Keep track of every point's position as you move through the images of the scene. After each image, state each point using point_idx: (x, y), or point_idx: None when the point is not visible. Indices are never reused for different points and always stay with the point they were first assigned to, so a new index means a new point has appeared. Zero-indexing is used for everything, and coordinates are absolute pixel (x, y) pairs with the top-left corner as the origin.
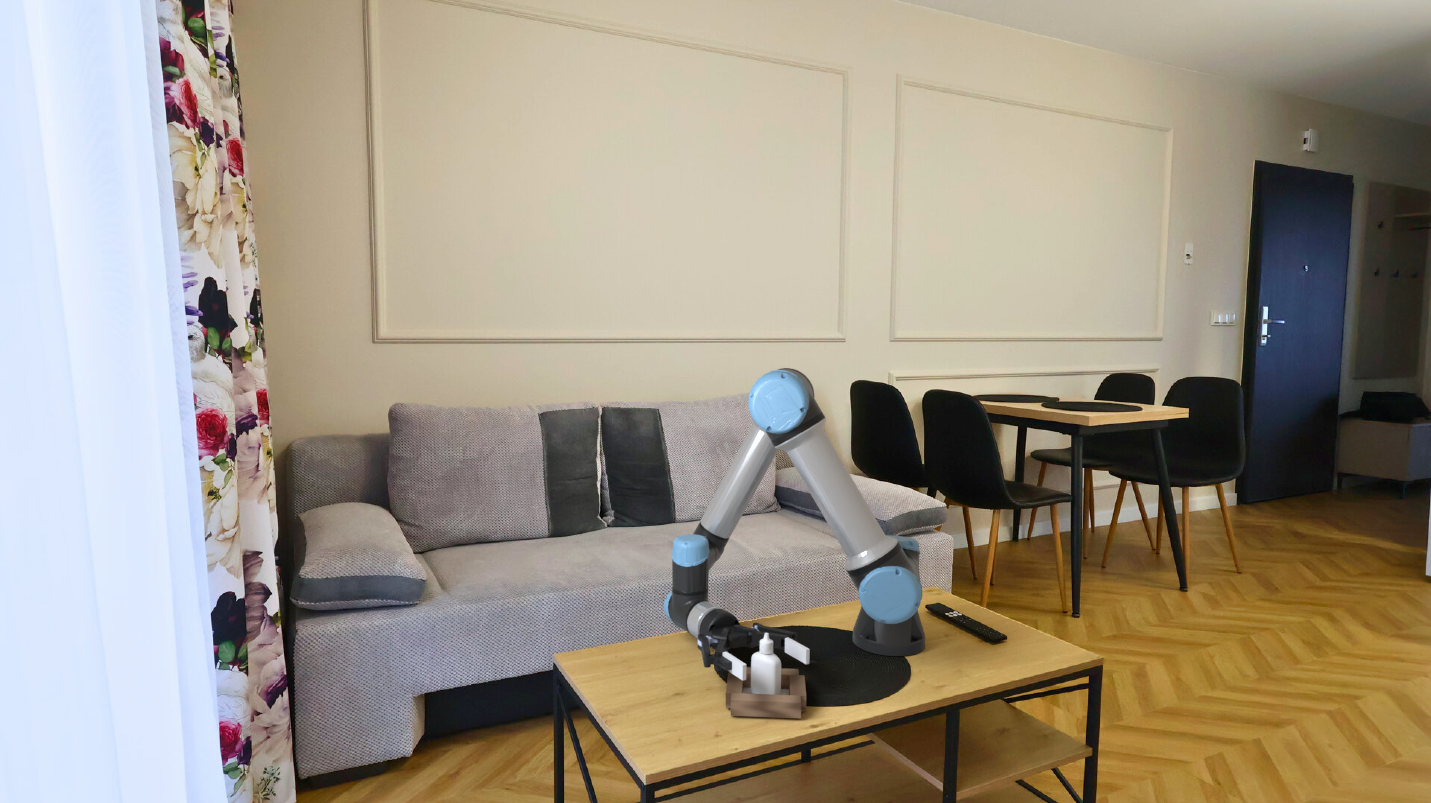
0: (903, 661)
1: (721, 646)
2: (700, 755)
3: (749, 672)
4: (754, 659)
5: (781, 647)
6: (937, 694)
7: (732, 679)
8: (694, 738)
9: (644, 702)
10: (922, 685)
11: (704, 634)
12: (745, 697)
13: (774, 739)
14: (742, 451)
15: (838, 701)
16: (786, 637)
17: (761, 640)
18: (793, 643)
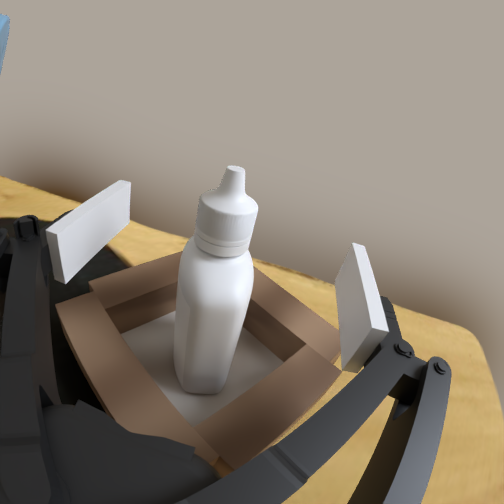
0: None
1: (359, 389)
2: (419, 321)
3: (170, 412)
4: (251, 292)
5: (47, 291)
6: (30, 194)
7: (267, 420)
8: (417, 356)
9: None
10: (7, 206)
11: None
12: (311, 325)
13: (304, 281)
14: None
15: (102, 259)
16: (40, 239)
17: (247, 207)
18: (91, 211)
